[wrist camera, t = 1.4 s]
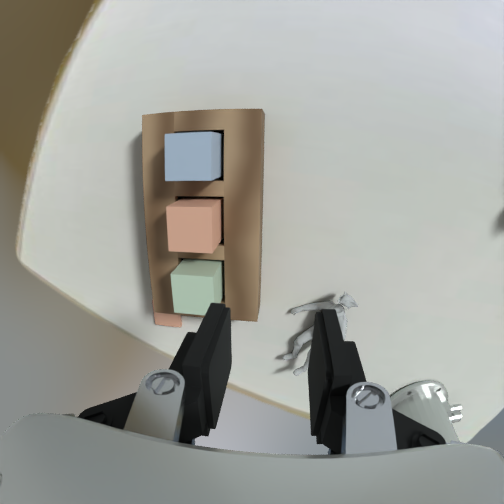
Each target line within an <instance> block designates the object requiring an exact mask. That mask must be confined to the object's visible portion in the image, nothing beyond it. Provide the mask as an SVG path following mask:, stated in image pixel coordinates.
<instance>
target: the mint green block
mask: <svg viewBox="0 0 504 504" xmlns="http://www.w3.org/2000/svg"><path fill="white" fill-rule="evenodd" d="M171 285H172V295H173V305H174V312H175V313H184V314H195V315H205V314H206V312H207V310H208V308H209V306H210V304H211V303H220V302H221V300H222V298H223V295H224V293H225V277H224V260H212V259H193V258H184V259H183V260H182V262H181V263H180V264H179V265H178V266H177V267H176V268H175V270H174V271H173V272H172V273H171Z"/></svg>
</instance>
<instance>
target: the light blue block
mask: <svg viewBox="0 0 504 504" xmlns="http://www.w3.org/2000/svg"><path fill="white" fill-rule="evenodd" d="M223 175H224V135H223V134H219V133H215V132H190V133H172V134H165V181H212V180H214V179H216V178H219V177H221V176H223Z"/></svg>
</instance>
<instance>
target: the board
mask: <svg viewBox="0 0 504 504" xmlns="http://www.w3.org/2000/svg"><path fill="white" fill-rule="evenodd" d="M264 119H265V114H264V112H263V110H262V109H215V110H194V111H179V112H167V113H157V114H147V115H142V164H143V193H144V211H145V226H146V239H147V250H148V261H149V270H150V279H151V288H152V296H153V303H154V311H155V312H157V313H165V314H174V315H184V316H194V317H204V316H205V315H195V314H184V313H175V312H174V305H173V295H172V285H171V273H172V272H173V271H174V270H175V268H176V267H177V266H178V265H179V264H180V263H181V258H193V259H212V260H224V270H225V295H223V298H222V300H221V302H220V303H224V304H225V305H226V307H229V308H230V310H231V320H241V321H255V322H257V319H258V313H259V308H260V289H261V254H262V215H263V171H264ZM209 130H224V180H212V181H165V134H172V133H177V132H185V131H209ZM178 196H219V197H224V243H219V245H218V246H217V248H216V249H215V250H214V252H213V253H193V252H174V251H169V248H168V233H167V215H166V206H168V205H170V204H172V203H174V202H176V201H178Z"/></svg>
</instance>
